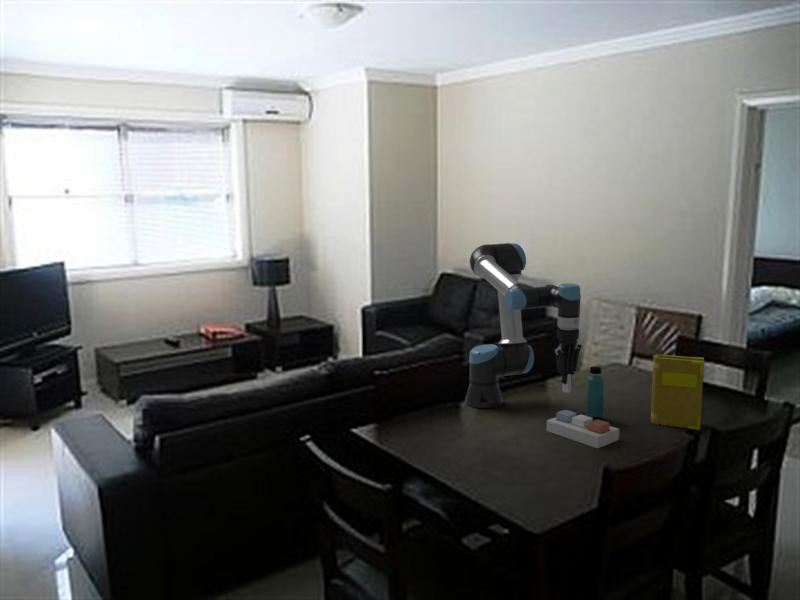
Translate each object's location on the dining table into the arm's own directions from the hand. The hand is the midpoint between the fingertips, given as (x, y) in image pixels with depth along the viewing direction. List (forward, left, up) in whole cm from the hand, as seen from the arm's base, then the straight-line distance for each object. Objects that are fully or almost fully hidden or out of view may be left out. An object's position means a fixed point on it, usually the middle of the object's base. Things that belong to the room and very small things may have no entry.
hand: (566, 391), depth 248 cm
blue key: (0, 0, -13) cm, 13 cm away
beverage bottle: (-1, +18, -15) cm, 23 cm away
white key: (+7, 0, -13) cm, 15 cm away
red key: (+14, 0, -13) cm, 19 cm away
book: (+22, +35, -15) cm, 44 cm away
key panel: (+7, 0, -14) cm, 16 cm away
